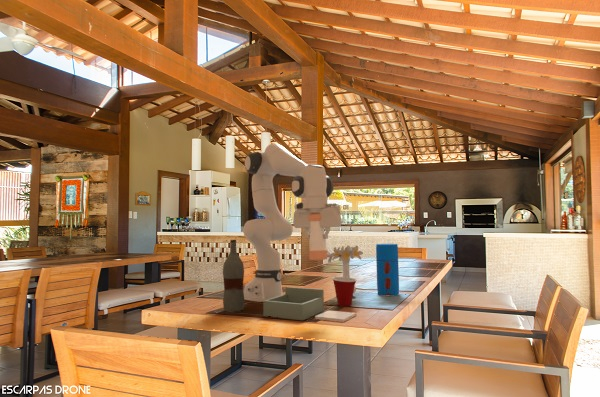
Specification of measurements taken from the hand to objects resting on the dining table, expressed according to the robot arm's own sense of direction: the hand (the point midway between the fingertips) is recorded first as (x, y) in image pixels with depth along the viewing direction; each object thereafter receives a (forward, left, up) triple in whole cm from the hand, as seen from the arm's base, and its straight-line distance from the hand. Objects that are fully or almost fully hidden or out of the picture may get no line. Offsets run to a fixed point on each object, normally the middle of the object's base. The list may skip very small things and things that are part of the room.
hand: (317, 239), depth 171 cm
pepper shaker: (0, 0, -8) cm, 8 cm away
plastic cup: (+1, +24, -31) cm, 39 cm away
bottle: (-38, -5, -31) cm, 49 cm away
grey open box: (-11, 0, -30) cm, 32 cm away
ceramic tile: (+7, +1, -30) cm, 31 cm away
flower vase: (-8, +45, -31) cm, 55 cm away
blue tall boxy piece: (+9, +60, -31) cm, 68 cm away
